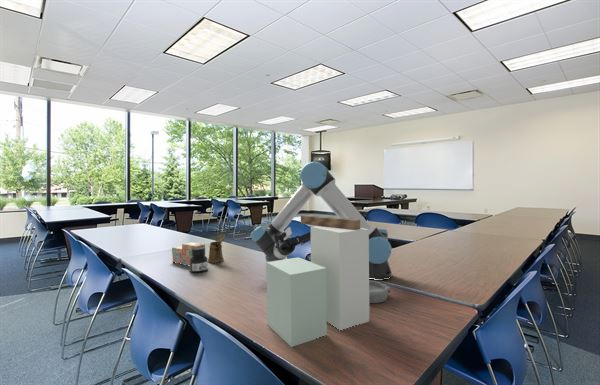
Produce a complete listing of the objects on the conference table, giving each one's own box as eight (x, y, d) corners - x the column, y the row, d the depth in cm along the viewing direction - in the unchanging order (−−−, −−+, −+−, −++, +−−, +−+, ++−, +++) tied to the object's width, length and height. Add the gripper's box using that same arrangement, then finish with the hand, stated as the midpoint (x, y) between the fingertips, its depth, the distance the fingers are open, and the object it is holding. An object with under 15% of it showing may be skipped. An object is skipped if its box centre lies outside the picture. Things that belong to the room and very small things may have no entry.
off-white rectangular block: (311, 312, 104) (310, 226, 104) (338, 304, 110) (337, 224, 110) (340, 330, 91) (339, 232, 90) (369, 321, 97) (368, 229, 96)
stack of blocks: (172, 263, 175) (171, 242, 174) (181, 260, 180) (181, 240, 180) (196, 268, 163) (196, 245, 163) (205, 265, 169) (205, 243, 168)
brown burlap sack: (215, 265, 168) (214, 233, 167) (205, 261, 178) (204, 231, 177) (229, 262, 174) (229, 232, 173) (219, 258, 184) (218, 229, 183)
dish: (368, 307, 108) (368, 293, 108) (345, 295, 121) (345, 282, 120) (397, 299, 115) (397, 287, 115) (373, 289, 127) (373, 277, 127)
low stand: (267, 324, 96) (266, 262, 95) (299, 315, 102) (298, 257, 101) (291, 347, 82) (290, 274, 81) (326, 335, 88) (326, 268, 88)
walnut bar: (300, 223, 112) (300, 215, 112) (306, 223, 114) (306, 215, 114) (355, 229, 95) (355, 220, 95) (360, 228, 97) (360, 219, 97)
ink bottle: (193, 274, 151) (192, 251, 151) (186, 271, 158) (186, 248, 157) (211, 270, 158) (210, 248, 157) (204, 267, 164) (203, 245, 164)
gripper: (310, 252, 138) (333, 234, 122) (260, 259, 126) (279, 241, 109) (305, 237, 141) (328, 218, 125) (256, 243, 129) (274, 222, 113)
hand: (305, 228), depth 117 cm, fingers open, 13 cm apart
